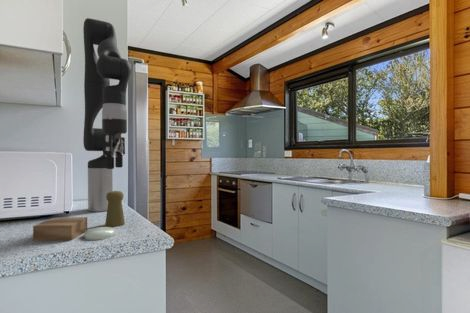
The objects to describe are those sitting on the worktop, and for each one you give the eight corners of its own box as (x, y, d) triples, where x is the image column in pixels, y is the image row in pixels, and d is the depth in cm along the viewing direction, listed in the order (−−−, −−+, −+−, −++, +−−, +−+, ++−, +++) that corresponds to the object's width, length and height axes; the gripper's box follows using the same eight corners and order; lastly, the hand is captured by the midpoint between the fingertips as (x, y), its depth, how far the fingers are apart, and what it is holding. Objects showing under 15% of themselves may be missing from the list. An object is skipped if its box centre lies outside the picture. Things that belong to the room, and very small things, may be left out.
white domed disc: (91, 233, 89) (91, 227, 89) (118, 232, 90) (118, 226, 90) (79, 241, 81) (79, 234, 81) (109, 240, 82) (109, 234, 82)
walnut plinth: (53, 230, 90) (53, 217, 90) (87, 230, 91) (87, 217, 91) (33, 240, 80) (33, 226, 80) (71, 240, 81) (71, 225, 81)
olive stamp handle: (118, 227, 95) (117, 192, 95) (101, 226, 96) (100, 192, 96) (128, 222, 101) (128, 190, 101) (112, 221, 102) (112, 189, 102)
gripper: (110, 120, 105) (110, 167, 105) (94, 116, 90) (94, 169, 91) (132, 121, 105) (132, 167, 105) (119, 116, 91) (119, 169, 91)
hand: (114, 168), depth 98 cm, fingers open, 8 cm apart
